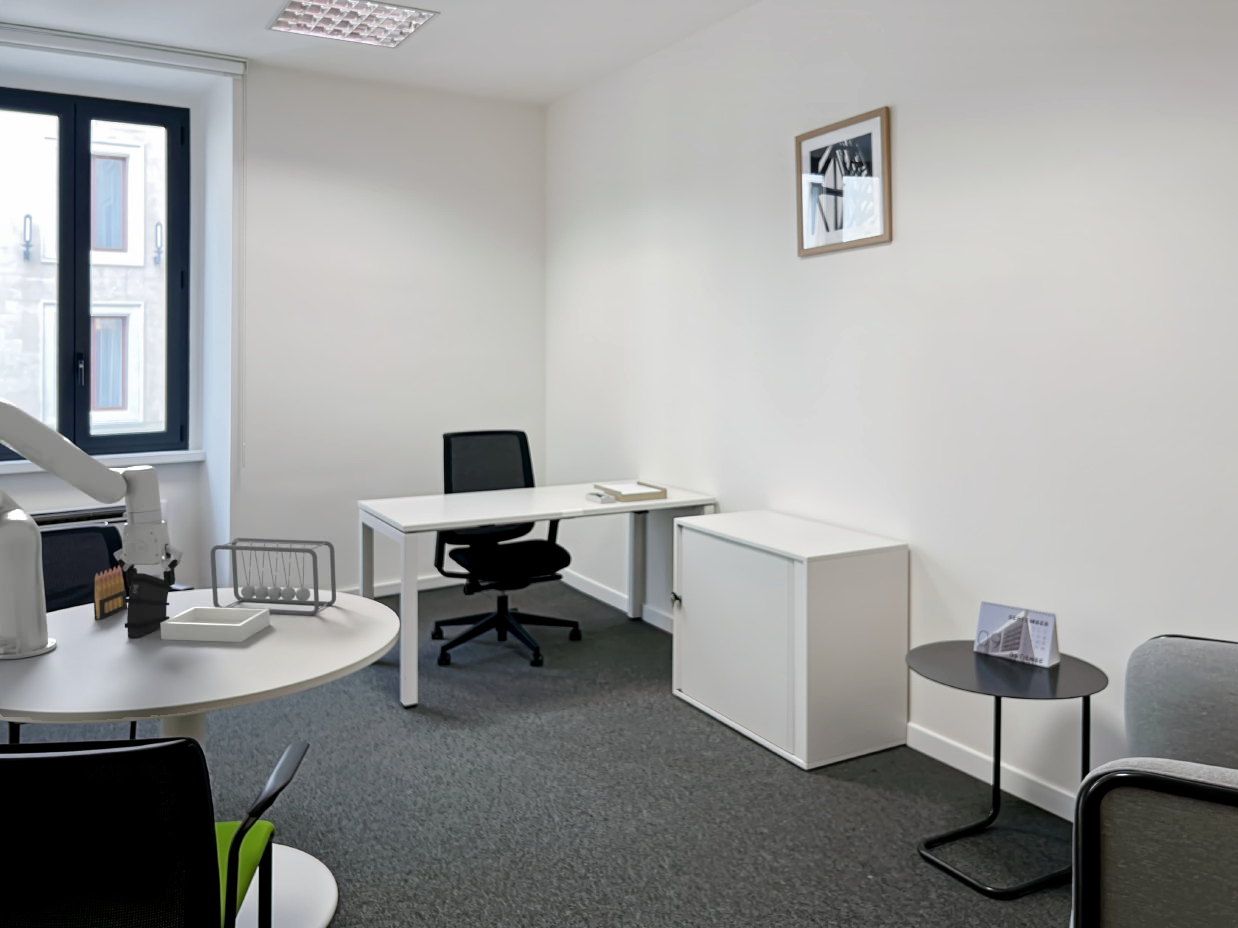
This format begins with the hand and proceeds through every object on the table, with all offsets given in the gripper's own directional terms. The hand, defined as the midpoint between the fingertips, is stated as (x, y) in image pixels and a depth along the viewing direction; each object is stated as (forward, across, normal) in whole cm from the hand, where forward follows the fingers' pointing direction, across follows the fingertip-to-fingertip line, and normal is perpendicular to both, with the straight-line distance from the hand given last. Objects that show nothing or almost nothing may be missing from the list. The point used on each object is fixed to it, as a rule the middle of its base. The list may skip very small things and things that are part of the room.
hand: (151, 585), depth 223 cm
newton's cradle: (+12, +20, +21) cm, 32 cm away
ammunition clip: (+11, -20, +11) cm, 25 cm away
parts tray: (+12, +16, 0) cm, 20 cm away
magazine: (+11, -1, -1) cm, 11 cm away
